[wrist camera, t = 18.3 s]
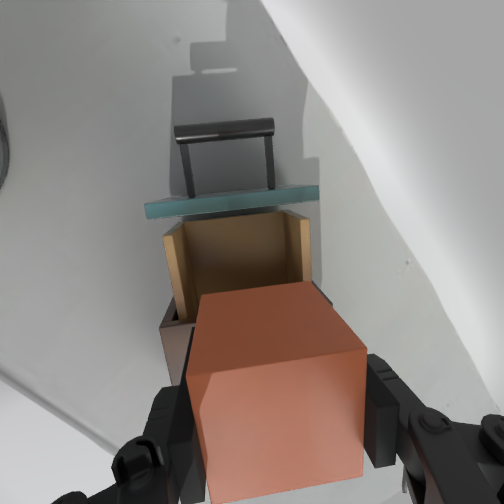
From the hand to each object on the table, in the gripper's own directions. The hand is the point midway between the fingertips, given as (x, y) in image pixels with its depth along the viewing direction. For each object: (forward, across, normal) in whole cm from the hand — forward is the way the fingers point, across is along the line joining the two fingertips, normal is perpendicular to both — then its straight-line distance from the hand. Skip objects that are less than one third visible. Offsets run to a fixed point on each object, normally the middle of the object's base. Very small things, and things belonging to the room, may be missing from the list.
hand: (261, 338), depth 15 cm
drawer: (+16, 0, +4) cm, 16 cm away
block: (0, 0, 0) cm, 0 cm away
